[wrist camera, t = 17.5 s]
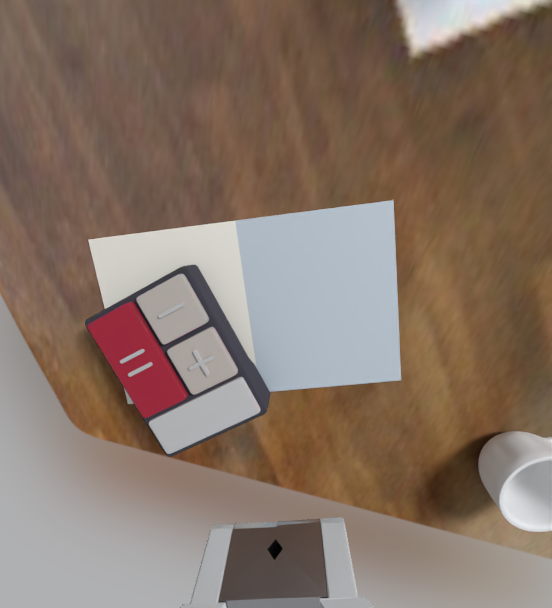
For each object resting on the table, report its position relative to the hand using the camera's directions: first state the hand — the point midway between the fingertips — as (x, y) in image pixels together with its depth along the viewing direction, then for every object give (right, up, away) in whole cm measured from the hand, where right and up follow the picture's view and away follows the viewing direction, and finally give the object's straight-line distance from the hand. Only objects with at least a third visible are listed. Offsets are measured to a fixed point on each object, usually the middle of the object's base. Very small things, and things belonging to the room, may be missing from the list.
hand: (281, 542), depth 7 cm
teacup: (+24, -9, +25) cm, 36 cm away
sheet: (-3, +5, +23) cm, 24 cm away
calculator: (-9, 0, +25) cm, 26 cm away
